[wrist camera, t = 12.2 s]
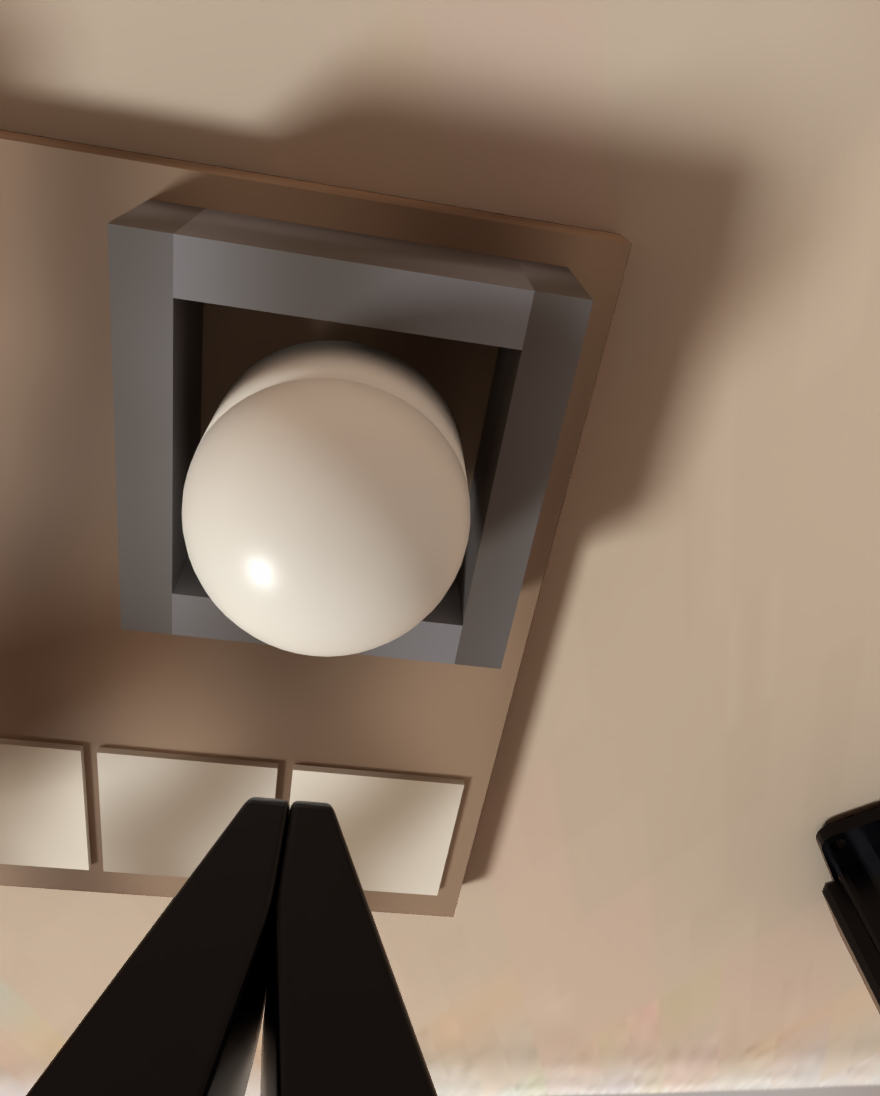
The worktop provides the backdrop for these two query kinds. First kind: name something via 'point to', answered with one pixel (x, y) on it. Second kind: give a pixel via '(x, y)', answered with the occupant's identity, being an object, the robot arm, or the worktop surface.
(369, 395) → the dome
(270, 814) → the robot arm
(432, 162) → the worktop surface
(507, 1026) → the worktop surface
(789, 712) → the worktop surface
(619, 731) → the worktop surface
